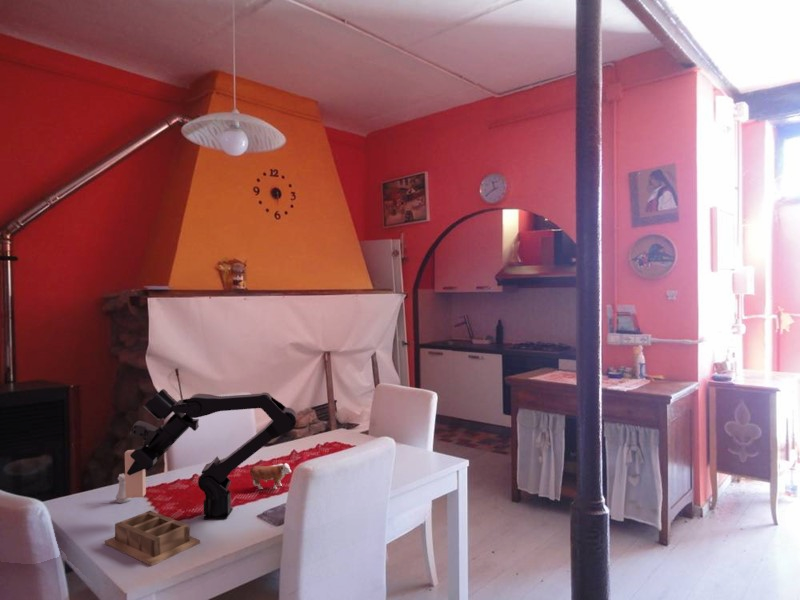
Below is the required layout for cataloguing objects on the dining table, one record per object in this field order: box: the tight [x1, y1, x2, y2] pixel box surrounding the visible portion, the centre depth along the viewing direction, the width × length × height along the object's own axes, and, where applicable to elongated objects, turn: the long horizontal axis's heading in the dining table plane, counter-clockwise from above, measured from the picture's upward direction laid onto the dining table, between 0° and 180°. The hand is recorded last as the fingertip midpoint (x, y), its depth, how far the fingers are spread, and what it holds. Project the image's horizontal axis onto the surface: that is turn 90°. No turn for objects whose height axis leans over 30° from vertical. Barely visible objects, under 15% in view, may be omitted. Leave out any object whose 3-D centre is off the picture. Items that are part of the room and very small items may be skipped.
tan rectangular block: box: [124, 449, 147, 499], centre depth 145 cm, size 4×2×12 cm, turn 99°
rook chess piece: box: [115, 472, 133, 504], centre depth 159 cm, size 4×4×8 cm
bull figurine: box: [249, 462, 292, 490], centre depth 169 cm, size 4×13×8 cm, turn 89°
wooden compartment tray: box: [104, 510, 201, 567], centre depth 132 cm, size 13×20×5 cm, turn 58°
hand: (130, 472), depth 145 cm, fingers closed on tan rectangular block, 2 cm apart
